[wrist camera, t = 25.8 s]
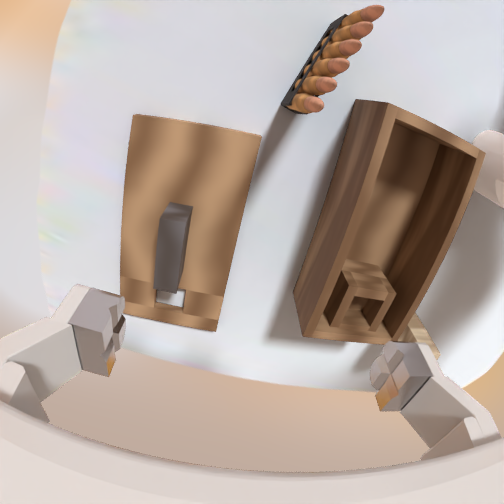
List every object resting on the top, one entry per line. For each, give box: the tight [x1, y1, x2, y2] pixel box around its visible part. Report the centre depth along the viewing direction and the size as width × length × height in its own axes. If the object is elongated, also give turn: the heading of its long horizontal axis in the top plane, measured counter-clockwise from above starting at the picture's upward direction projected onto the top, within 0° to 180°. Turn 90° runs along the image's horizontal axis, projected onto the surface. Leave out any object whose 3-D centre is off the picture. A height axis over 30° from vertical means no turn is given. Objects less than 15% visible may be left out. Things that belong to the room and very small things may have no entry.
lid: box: [120, 114, 262, 332], centre depth 32 cm, size 13×25×6 cm, turn 167°
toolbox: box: [293, 99, 486, 345], centre depth 31 cm, size 12×24×8 cm, turn 167°
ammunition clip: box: [281, 5, 384, 114], centre depth 21 cm, size 11×2×12 cm, turn 151°
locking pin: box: [398, 313, 441, 360], centre depth 37 cm, size 3×3×10 cm
